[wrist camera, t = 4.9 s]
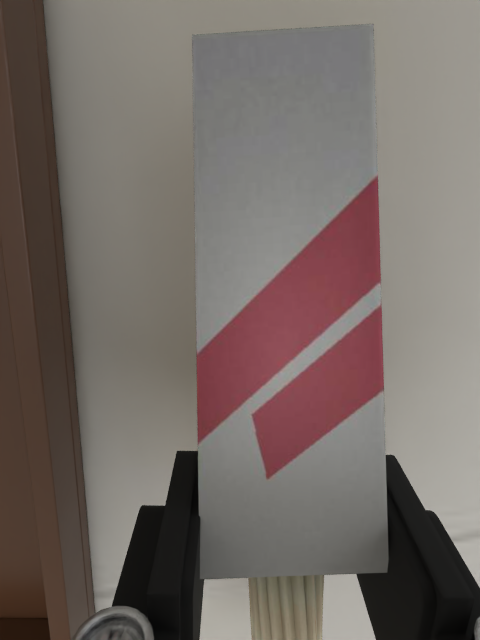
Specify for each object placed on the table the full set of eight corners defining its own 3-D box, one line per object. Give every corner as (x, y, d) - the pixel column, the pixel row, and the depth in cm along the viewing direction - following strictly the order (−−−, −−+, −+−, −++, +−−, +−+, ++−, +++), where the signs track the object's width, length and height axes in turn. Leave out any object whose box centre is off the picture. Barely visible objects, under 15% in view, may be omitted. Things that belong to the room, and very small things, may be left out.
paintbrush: (456, -12, 5) (358, 836, 12) (385, 41, 8) (337, 720, 15) (138, 2, 5) (222, 840, 13) (170, 50, 8) (225, 723, 15)
